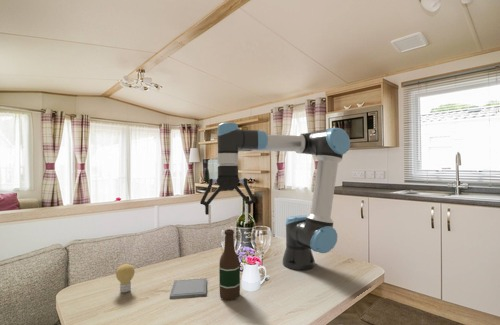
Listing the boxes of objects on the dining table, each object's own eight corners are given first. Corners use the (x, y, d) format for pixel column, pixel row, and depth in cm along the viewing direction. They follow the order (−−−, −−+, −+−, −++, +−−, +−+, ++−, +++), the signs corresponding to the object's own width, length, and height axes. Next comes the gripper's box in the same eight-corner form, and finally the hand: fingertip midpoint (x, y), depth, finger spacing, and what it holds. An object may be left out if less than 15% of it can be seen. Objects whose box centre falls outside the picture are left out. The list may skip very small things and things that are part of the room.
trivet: (206, 280, 109) (206, 278, 109) (206, 295, 96) (206, 293, 96) (174, 282, 107) (174, 280, 107) (169, 298, 94) (169, 295, 94)
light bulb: (131, 285, 105) (130, 260, 105) (137, 291, 100) (137, 264, 100) (113, 291, 100) (113, 264, 100) (119, 297, 96) (119, 269, 96)
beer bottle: (237, 302, 92) (236, 233, 92) (216, 300, 93) (215, 232, 93) (242, 291, 99) (242, 228, 99) (222, 289, 101) (222, 227, 101)
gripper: (259, 164, 102) (259, 219, 102) (194, 165, 99) (194, 221, 99) (263, 164, 95) (263, 223, 95) (192, 165, 91) (193, 226, 91)
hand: (228, 222), depth 97 cm, fingers open, 13 cm apart
